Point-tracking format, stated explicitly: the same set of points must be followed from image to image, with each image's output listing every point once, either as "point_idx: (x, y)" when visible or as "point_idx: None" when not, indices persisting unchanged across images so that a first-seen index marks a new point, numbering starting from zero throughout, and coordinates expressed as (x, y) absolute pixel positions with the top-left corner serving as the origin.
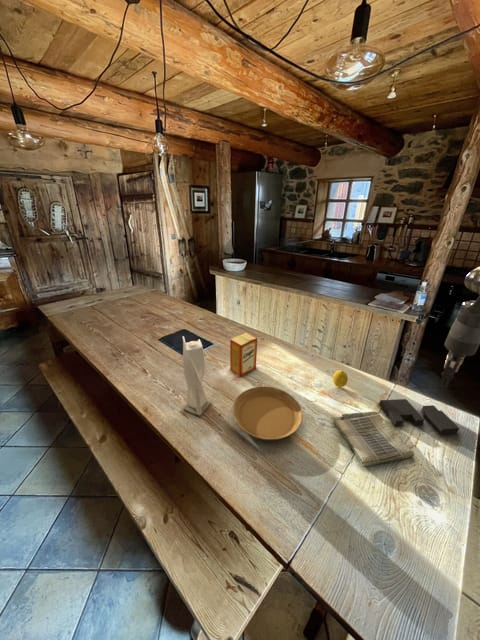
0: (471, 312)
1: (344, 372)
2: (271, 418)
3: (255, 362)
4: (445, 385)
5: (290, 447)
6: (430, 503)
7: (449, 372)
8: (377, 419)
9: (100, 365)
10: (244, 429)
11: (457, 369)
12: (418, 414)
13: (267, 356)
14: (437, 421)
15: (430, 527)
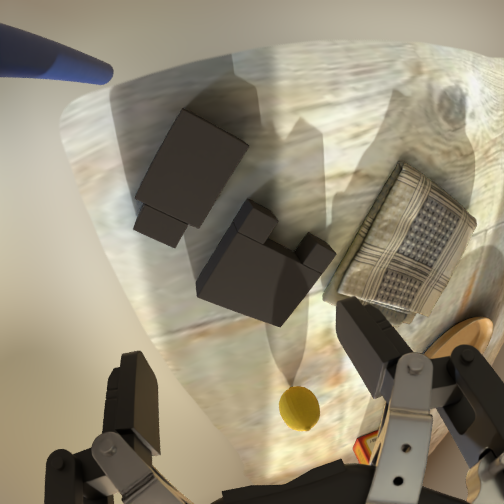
0: None
1: (303, 425)
2: (450, 351)
3: (364, 448)
4: (380, 315)
5: (477, 300)
6: (463, 99)
7: (145, 380)
8: (362, 282)
9: (444, 436)
10: (477, 343)
11: (428, 440)
12: (243, 233)
13: (312, 457)
14: (219, 175)
15: (489, 93)
